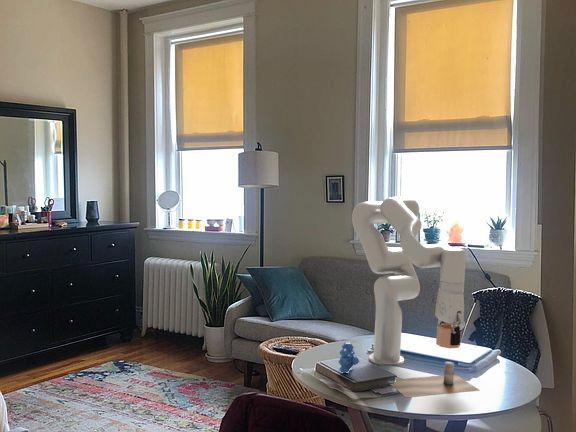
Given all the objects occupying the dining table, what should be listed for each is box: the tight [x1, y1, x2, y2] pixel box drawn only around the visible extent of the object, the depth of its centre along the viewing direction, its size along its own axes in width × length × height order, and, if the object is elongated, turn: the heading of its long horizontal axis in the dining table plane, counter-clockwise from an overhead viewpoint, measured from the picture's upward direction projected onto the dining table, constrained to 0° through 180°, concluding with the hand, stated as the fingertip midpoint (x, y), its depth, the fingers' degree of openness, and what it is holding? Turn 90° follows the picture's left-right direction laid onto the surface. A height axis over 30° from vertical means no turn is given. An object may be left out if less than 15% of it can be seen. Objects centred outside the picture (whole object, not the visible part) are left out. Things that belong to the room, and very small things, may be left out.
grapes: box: [338, 342, 360, 373], centre depth 196 cm, size 12×7×12 cm, turn 159°
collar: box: [435, 323, 462, 349], centre depth 187 cm, size 7×7×6 cm
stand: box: [389, 361, 480, 398], centre depth 187 cm, size 14×26×8 cm, turn 107°
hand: (448, 340), depth 188 cm, fingers closed on collar, 7 cm apart
